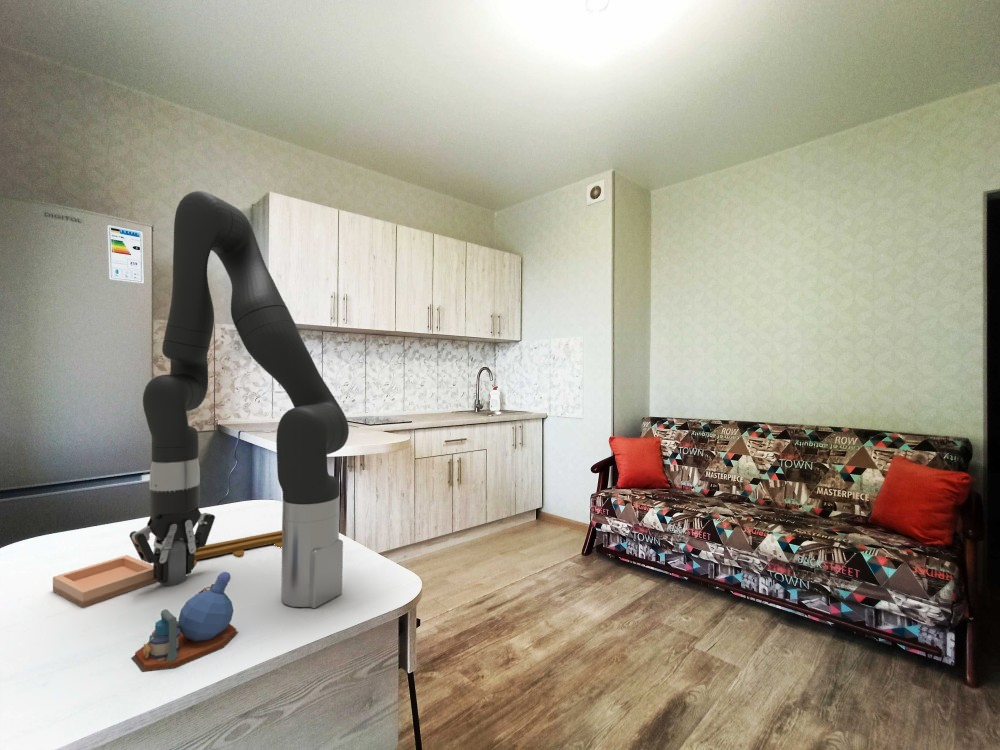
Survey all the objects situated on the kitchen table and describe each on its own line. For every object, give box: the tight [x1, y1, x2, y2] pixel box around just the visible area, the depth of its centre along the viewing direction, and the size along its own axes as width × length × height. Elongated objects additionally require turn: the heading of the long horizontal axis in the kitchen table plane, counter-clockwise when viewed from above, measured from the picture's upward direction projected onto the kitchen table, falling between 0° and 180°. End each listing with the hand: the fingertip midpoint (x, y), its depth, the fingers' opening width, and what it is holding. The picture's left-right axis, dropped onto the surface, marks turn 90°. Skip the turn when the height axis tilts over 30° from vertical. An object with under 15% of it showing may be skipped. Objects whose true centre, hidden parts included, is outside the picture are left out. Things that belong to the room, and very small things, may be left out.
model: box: [130, 571, 239, 673], centre depth 68 cm, size 12×9×9 cm
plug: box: [161, 539, 187, 587], centre depth 87 cm, size 4×4×8 cm
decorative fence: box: [194, 530, 282, 568], centre depth 103 cm, size 25×2×10 cm
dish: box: [52, 554, 157, 608], centre depth 84 cm, size 11×11×2 cm
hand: (174, 576), depth 87 cm, fingers closed on plug, 3 cm apart
